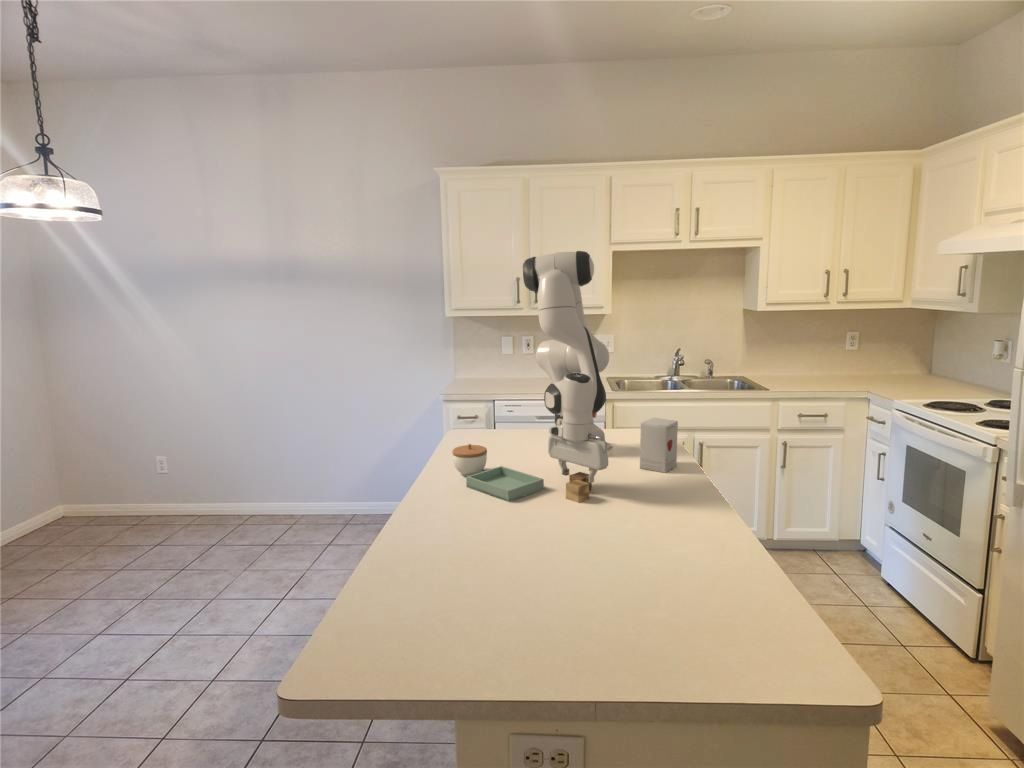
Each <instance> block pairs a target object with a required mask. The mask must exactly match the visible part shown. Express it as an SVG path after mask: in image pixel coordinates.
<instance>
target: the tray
mask: <svg viewBox="0 0 1024 768" xmlns="http://www.w3.org/2000/svg"><path fill="white" fill-rule="evenodd" d="M465 477H466V478H465V479H466V481H465V482H466V488H469V489H472V490H475V491H477V492H480V493H484V494H485V495H489V496H492V497H494V498H497V499H500V500H503V501H505V502H508V503H510V502H512V501H514V500H517V499H520V498H523V497H526V496H529V495H531V494H535V493H537V492H540V491H543V490H544V489H545V488H544V487H545V486H544V485H545V483H544V478H541V477H538V476H535V475H533V474H529V473H525V472H523V471H519V470H515V469H513V468H509V467H506V466H502V465H500V466H498V467H494V468H491V469H487V470H485V471H483V470H482V471H481V472H480V473H477V474H473V475H470V476H465Z"/></svg>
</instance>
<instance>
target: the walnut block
mask: <svg viewBox="0 0 1024 768" xmlns="http://www.w3.org/2000/svg"><path fill="white" fill-rule="evenodd" d="M589 474H590V473H586V472H582V471H578V472H575V473H573V474H569V482H572V481H574V480H579V481H583V482H586V476H589ZM586 483H589V482H586ZM592 488H593V482H592V483H589V492H590V491H593V489H592Z"/></svg>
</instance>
